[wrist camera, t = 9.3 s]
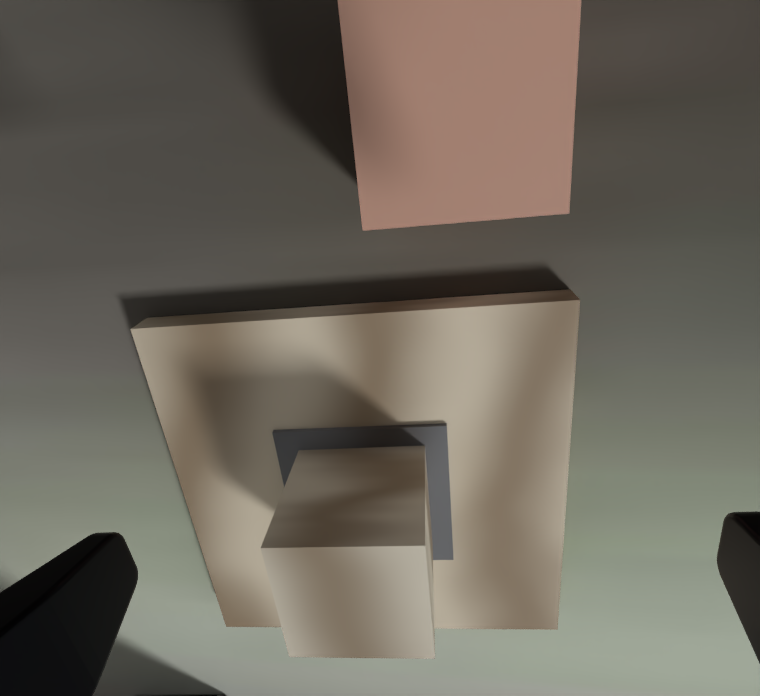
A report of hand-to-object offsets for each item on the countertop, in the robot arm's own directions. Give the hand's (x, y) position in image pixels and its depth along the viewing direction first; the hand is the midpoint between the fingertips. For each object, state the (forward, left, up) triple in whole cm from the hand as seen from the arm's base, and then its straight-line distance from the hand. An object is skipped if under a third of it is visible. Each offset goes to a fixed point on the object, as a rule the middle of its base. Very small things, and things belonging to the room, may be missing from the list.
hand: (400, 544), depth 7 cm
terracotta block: (-2, -6, -12) cm, 13 cm away
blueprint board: (+2, +8, -12) cm, 14 cm away
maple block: (+2, +8, -10) cm, 13 cm away
